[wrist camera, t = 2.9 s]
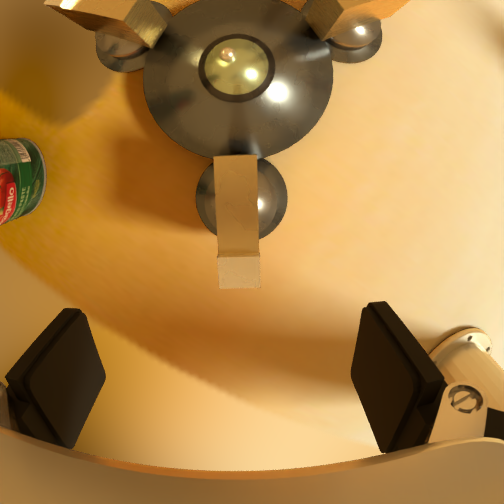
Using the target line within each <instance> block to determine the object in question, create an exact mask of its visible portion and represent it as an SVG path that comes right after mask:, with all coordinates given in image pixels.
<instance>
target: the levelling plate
mask: <svg viewBox="0 0 504 504" xmlns="http://www.w3.org/2000/svg"><path fill="white" fill-rule="evenodd" d="M313 1H314V0H308V1H307V2H306V3H305V5H304V6H303V8H302V10H301V12H299V11H298V10H297V9H295V8H294V7H292V6H290V5H288V4H286V3H284V2H282V1H280V0H200V1H198V2H196V3H193V4H191V5H189V6H188V7H186V8H185V9H183V10H182V11H180V12H179V13H177V14H176V15H175V16H174V17H173V16H172V14H171V12H170V11H169V10H168V9H167V7H165V6H164V5H162V4H160V3H158V2H155V1H150V2H151V3H152V5H153V6H154V7H155V9H156V10H157V11H158V13H159V14H160V16H161V17H162V18H163V20H164V21H165V23H166V24H167V27H166V28H165V30H164V32H163V33H162V35H161V36H160V38H159V39H158V41H157V42H156V44H155V46H154V47H153V49H152V48H150V49H149V50H148V51H147V52H146V53H144V54H143V55H141V56H139V57H137V58H134V59H130V60H119V59H116V58H113V57H112V56H110V55H108V54H107V53H105V52H103V51H102V50H101V49H100V48H99V47H98V45H97V43H96V51H97V55H98V58H99V60H100V61H101V63H102V64H104V66H106V67H107V68H109V69H111V70H113V71H117V72H133V71H137V70H140V69H142V68H144V73H143V86H144V93H145V98H146V102H147V104H148V107H149V110H150V112H151V114H152V116H153V117H154V119H155V121H156V122H157V124H158V125H159V126H160V128H161V129H162V130H163V131H164V132H165V133H166V134H167V135H168V136H169V137H170V138H171V139H172V140H174V141H175V142H176V143H178V144H179V145H180V146H182V147H184V148H186V149H187V150H189V151H191V152H194V153H196V154H198V155H201V156H204V157H208V158H211V159H213V157H215V156H221V155H239V154H256V155H257V170H258V171H260V172H262V173H263V174H264V175H265V176H266V177H267V178H268V179H269V181H270V182H271V184H272V186H273V187H274V190H275V193H276V197H277V209H276V213H275V216H274V218H273V220H272V222H271V223H270V224H269V226H268V227H267V228H266V229H265V230H263V231H262V232H260V233H259V239H261V238H263V237H265V236H267V235H268V234H270V233H271V232H272V231H273V230H274V229H275V228H276V227H277V226H278V225H279V223H280V222H281V220H282V218H283V216H284V214H285V211H286V206H287V189H286V185H285V182H284V180H283V178H282V176H281V174H280V173H279V171H278V170H277V169H276V168H275V167H274V166H273V165H272V164H271V163H270V162H268V161H267V160H265V159H264V157H267V156H270V155H273V154H276V153H278V152H280V151H283V150H285V149H287V148H289V147H290V146H292V145H293V144H295V143H296V142H298V141H299V140H300V139H302V138H303V137H304V136H305V135H306V134H307V133H308V132H309V131H310V130H311V129H312V128H313V127H314V126H315V125H316V123H317V122H318V120H319V119H320V117H321V116H322V114H323V112H324V110H325V108H326V106H327V104H328V101H329V98H330V95H331V91H332V85H333V67H332V60H334V61H337V62H342V63H359V62H363V61H365V60H367V59H369V58H371V57H372V56H373V55H374V54H375V53H376V52H377V51H378V50H379V48H380V45H381V42H382V30H381V29H380V32H379V35H378V36H377V37H376V38H375V39H374V40H373V41H372V42H371V43H369V44H368V45H367V46H365V47H364V48H362V49H360V50H355V51H346V50H341V49H338V48H335V47H333V46H331V45H330V44H328V43H327V42H325V40H324V41H322V42H321V40H320V39H319V37H318V36H317V35H316V33H315V32H314V31H313V29H312V28H311V27H310V25H309V24H308V23H307V21H306V20H305V19H306V16H307V14H308V12H309V10H310V8H311V6H312V3H313ZM213 179H214V162H213V163H212V164H211V165H210V166H209V167H208V168H207V169H206V170H205V172H204V173H203V175H202V176H201V178H200V180H199V183H198V186H197V190H196V205H197V210H198V213H199V215H200V218H201V219H202V221H203V223H204V224H205V225H206V227H207V228H208V229H209V230H210V231H211V232H213V233H214V234H215V235H217V229H216V228H215V227H214V226H213V225H212V223H211V222H210V220H209V219H208V217H207V214H206V211H205V195H206V191H207V189H208V186H209V185H210V183H211V182H212V180H213Z"/></svg>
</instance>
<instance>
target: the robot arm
mask: <svg viewBox="0 0 504 504" xmlns="http://www.w3.org/2000/svg"><path fill="white" fill-rule="evenodd" d="M490 355H491V340H490V338H489V336H488V335H487V334H486V333H485V332H484V331H483V330H480V329H478V328H470V329H465V330H462V331H460V332H457V333H456V334H454V335H452V336H450V337H449V338H447V339H446V340H445V341H443V342H442V343H441V344H440V345H438V346H437V347H436V348H435V349H434V350H433V351H432V352H431V353H430V354H429V355H428V354H427V353H426V352H425V350H424V349H423V348H422V346H421V345H420V344H419V342H418V341H417V340H416V339H415V337H414V336H413V335H412V333H411V332H410V331H409V330H408V328H407V327H406V326H405V324H404V323H403V322H402V321H401V319H400V318H399V317H398V316H397V314H396V313H395V312H394V311H393V310H392V308H391V307H390V306H389V305H388V303H387V302H385V301H381V302H370V303H368V305H367V307H364V308H363V309H362V313H361V319H360V325H359V331H358V337H357V342H356V347H355V352H354V357H353V362H352V367H351V378H352V381H353V384H354V386H355V389H356V391H357V393H358V396H359V398H360V401H361V403H362V406H363V408H364V411H365V413H366V416H367V418H368V421H369V423H370V426H371V429H372V431H373V434H374V436H375V439H376V442H377V444H378V447H379V449H380V451H381V453H386V454H382V455H378V456H374V457H368V458H363V459H358V460H352V461H346V462H340V463H334V464H328V465H320V466H313V467H304V468H294V469H282V470H265V471H205V470H188V469H175V468H166V467H157V466H150V465H143V464H136V463H130V462H124V461H119V460H114V459H109V458H103V457H99V456H95V455H90V454H86V453H82V452H78V451H74V450H71V449H72V448H73V447H74V446H75V443H76V441H77V439H78V436H79V434H80V432H81V430H82V428H83V426H84V424H85V421H86V419H87V417H88V415H89V413H90V411H91V409H92V407H93V405H94V402H95V400H96V398H97V396H98V394H99V392H100V390H101V388H102V386H103V384H104V382H105V378H106V375H105V370H104V368H103V365H102V363H101V360H100V357H99V354H98V351H97V349H96V345H95V343H94V340H93V337H92V334H91V330H90V327H89V324H88V321H87V317H86V315H85V314H84V313H82V311H81V310H80V309H76V308H65V309H63V310H62V311H61V312H60V313H59V314H58V316H57V317H56V318H55V319H54V320H53V321H52V322H51V323H50V324H49V325H48V326H47V328H46V329H45V330H44V331H43V332H42V333H41V334H40V335H39V336H38V338H37V339H36V340H35V341H34V342H33V343H32V344H31V346H30V347H29V348H28V349H27V350H26V352H25V353H24V354H23V355H22V356H21V357H20V359H19V360H18V361H17V362H16V363H15V365H14V366H13V367H12V368H11V370H10V371H9V372H8V373H7V375H6V376H5V378H6V380H7V382H8V384H9V385H8V387H7V388H6V386H5V385H4V384H3V383H2V382H0V504H504V370H503V369H502V368H501V367H500V366H499V365H498V363H497V362H496V361H495V360H494V359H493V358H492V357H491V356H490Z"/></svg>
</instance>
